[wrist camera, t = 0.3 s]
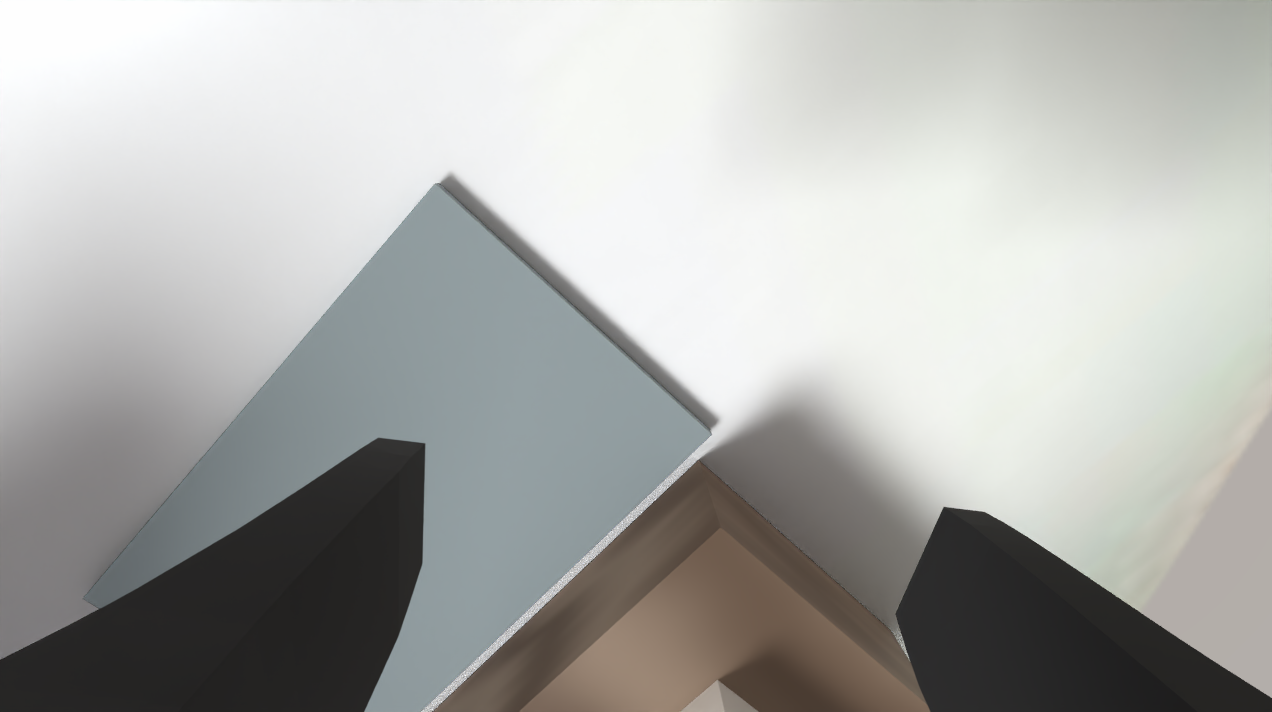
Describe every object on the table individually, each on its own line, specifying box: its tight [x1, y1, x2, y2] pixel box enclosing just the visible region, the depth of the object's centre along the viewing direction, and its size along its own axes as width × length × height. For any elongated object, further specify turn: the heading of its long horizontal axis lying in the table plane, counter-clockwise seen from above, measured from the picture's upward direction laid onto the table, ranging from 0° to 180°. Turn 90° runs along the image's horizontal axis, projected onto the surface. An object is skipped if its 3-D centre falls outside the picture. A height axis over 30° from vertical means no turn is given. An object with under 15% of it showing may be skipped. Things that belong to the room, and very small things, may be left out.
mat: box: [83, 183, 712, 712], centre depth 20 cm, size 18×11×1 cm, turn 136°
